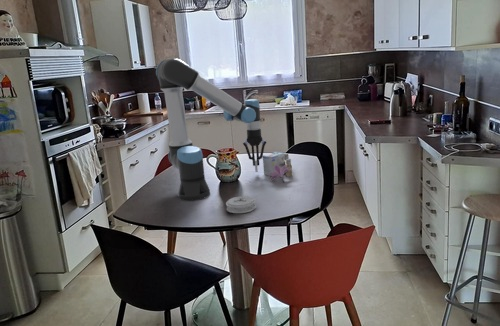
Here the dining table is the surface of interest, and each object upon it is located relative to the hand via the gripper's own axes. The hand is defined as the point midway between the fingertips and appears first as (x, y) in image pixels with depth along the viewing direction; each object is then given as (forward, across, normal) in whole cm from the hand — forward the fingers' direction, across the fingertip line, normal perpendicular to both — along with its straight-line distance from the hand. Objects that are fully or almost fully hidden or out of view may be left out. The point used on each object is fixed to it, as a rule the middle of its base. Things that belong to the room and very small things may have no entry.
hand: (256, 171), depth 233 cm
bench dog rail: (+2, -17, 0) cm, 17 cm away
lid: (+3, +8, +53) cm, 54 cm away
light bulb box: (+2, -10, -1) cm, 10 cm away
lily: (+2, -12, +16) cm, 20 cm away
